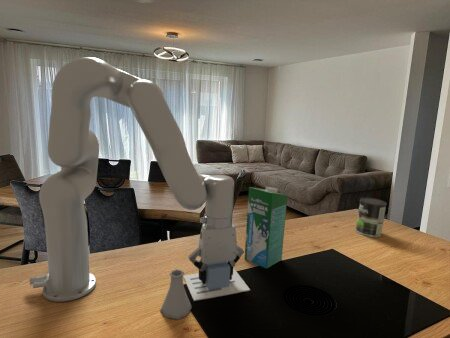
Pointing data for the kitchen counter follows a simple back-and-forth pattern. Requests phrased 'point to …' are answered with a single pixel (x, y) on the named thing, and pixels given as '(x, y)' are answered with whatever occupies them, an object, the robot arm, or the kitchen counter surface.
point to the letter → (202, 291)
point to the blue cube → (217, 275)
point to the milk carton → (265, 226)
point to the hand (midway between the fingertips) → (215, 279)
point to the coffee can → (370, 217)
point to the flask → (176, 297)
